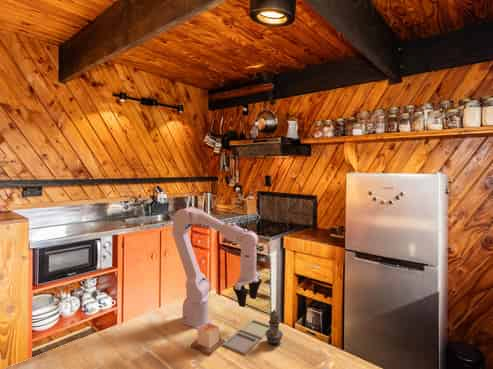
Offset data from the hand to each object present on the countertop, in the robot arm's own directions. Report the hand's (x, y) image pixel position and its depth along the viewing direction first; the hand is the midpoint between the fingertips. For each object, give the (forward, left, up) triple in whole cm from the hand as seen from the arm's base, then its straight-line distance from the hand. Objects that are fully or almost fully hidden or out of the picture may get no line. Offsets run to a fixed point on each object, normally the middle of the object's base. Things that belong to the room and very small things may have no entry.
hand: (247, 302), depth 107 cm
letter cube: (-6, -15, -9) cm, 19 cm away
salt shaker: (+12, -2, -11) cm, 16 cm away
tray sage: (+3, +2, -10) cm, 11 cm away
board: (-6, -15, -10) cm, 19 cm away
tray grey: (+3, -9, -10) cm, 14 cm away
